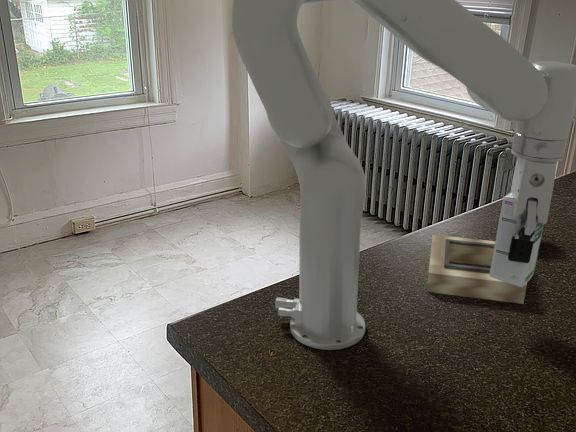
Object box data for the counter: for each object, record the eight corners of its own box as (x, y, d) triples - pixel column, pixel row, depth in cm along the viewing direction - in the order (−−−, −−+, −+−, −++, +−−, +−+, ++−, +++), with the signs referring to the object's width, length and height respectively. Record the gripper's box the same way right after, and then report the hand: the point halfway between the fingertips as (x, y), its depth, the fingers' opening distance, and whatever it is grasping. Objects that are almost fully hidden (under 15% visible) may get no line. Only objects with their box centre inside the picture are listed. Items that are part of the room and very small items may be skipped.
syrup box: (523, 288, 95) (542, 204, 89) (487, 276, 98) (503, 195, 93) (533, 275, 99) (552, 194, 94) (498, 264, 103) (515, 185, 97)
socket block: (426, 291, 111) (428, 269, 109) (430, 251, 126) (432, 232, 124) (523, 303, 107) (527, 281, 105) (515, 261, 122) (518, 240, 120)
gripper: (575, 165, 81) (547, 279, 88) (556, 134, 97) (534, 233, 104) (517, 159, 83) (494, 271, 90) (508, 129, 99) (489, 226, 106)
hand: (516, 249), depth 97 cm, fingers closed on syrup box, 7 cm apart
